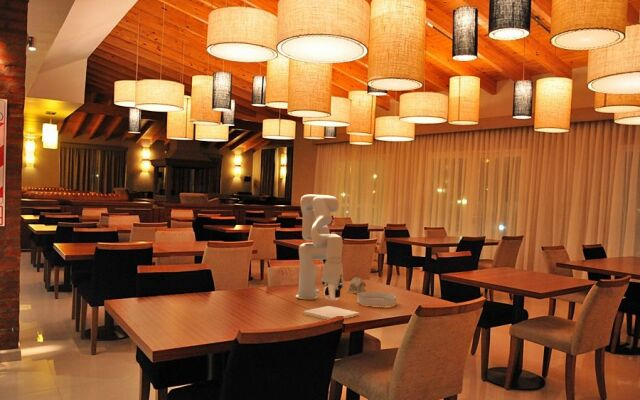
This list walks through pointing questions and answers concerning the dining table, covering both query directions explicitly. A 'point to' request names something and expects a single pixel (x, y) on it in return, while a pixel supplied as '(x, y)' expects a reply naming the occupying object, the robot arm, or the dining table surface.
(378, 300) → the dish
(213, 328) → the dining table surface
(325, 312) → the board
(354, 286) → the ceramic model
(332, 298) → the cup
